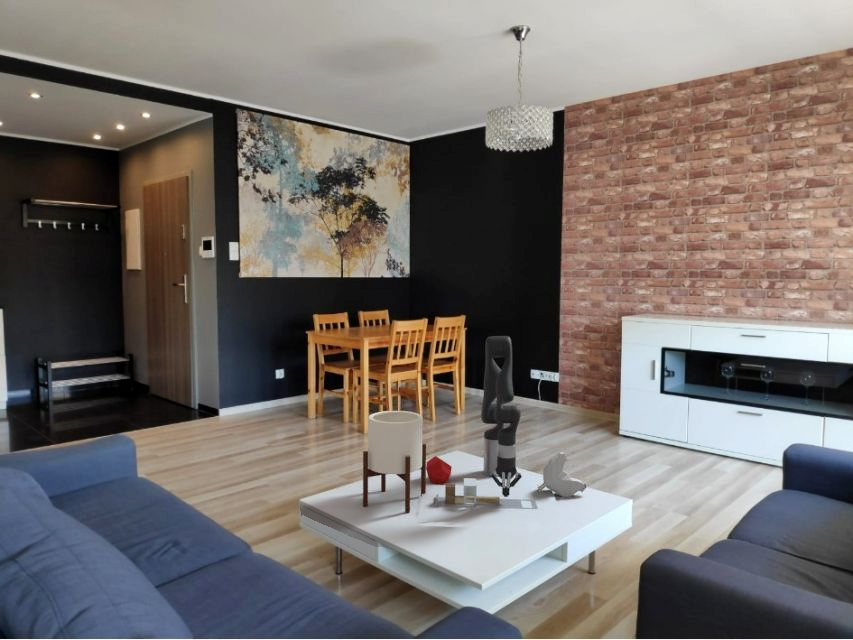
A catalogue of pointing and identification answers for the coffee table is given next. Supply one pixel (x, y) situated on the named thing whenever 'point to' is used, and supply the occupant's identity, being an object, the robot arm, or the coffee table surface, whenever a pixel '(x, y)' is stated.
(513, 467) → the robot arm
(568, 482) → the grey crescent shape
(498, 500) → the beech dowel
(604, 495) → the coffee table surface
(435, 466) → the apple
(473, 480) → the grey pocketed tray
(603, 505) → the coffee table surface
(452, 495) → the walnut block
